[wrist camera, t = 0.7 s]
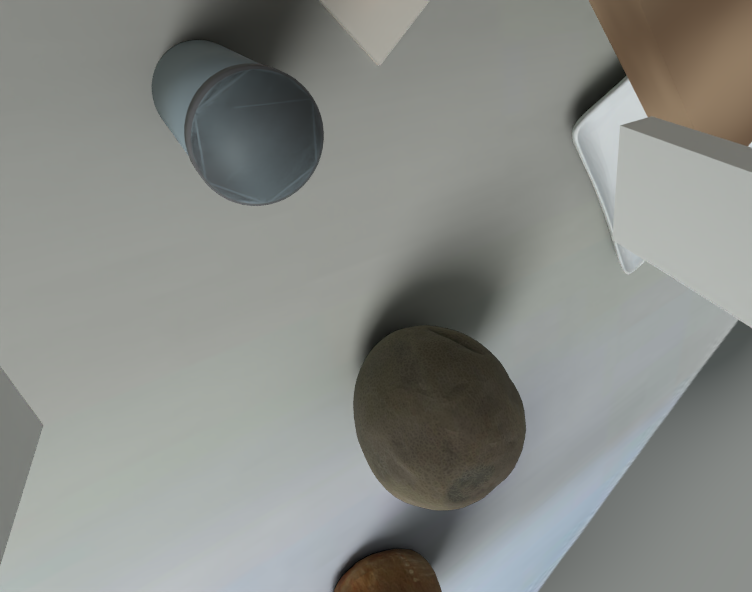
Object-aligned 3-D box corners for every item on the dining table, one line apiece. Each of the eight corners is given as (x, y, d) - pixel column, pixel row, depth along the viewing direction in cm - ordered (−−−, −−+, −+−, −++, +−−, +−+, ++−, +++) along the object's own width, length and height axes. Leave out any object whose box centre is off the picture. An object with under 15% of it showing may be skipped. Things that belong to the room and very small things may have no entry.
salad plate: (741, 136, 62) (772, 143, 59) (605, 267, 62) (630, 280, 59) (717, -45, 48) (755, -45, 45) (542, 123, 48) (571, 132, 45)
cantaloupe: (294, 374, 48) (371, 503, 36) (418, 270, 49) (531, 364, 37) (370, 445, 57) (450, 567, 45) (473, 357, 58) (578, 454, 46)
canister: (128, 100, 32) (158, 154, 23) (190, 13, 32) (247, 33, 23) (215, 162, 36) (270, 229, 27) (272, 86, 36) (348, 127, 27)
